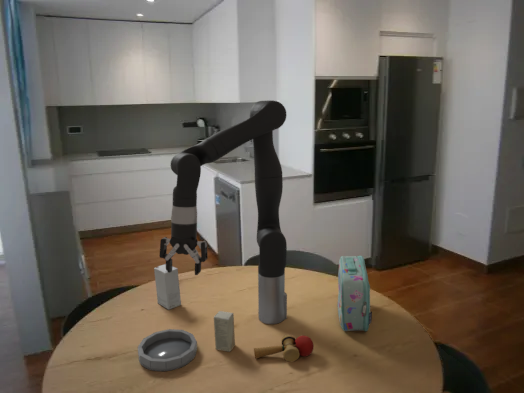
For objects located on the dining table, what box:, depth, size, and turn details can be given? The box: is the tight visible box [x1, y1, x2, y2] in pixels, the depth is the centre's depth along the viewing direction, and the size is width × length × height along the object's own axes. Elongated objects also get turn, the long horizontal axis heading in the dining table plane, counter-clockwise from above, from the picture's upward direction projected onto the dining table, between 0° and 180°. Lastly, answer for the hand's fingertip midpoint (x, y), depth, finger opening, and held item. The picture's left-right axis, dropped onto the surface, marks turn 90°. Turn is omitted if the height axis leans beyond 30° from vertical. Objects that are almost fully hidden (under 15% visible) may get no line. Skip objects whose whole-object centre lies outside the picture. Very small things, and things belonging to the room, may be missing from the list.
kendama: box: [253, 334, 315, 362], centre depth 124 cm, size 8×6×18 cm
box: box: [213, 310, 236, 352], centre depth 128 cm, size 5×4×11 cm
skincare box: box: [153, 263, 182, 311], centre depth 156 cm, size 8×6×15 cm
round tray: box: [137, 328, 198, 372], centre depth 126 cm, size 17×17×3 cm
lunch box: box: [336, 255, 373, 332], centre depth 144 cm, size 27×10×21 cm, turn 173°
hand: (183, 273), depth 125 cm, fingers open, 8 cm apart
